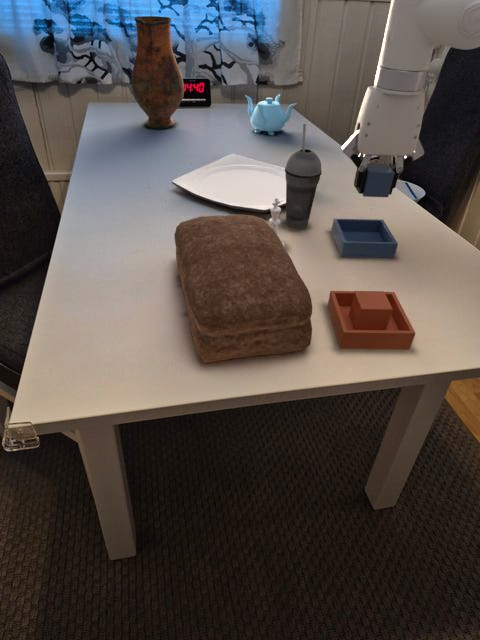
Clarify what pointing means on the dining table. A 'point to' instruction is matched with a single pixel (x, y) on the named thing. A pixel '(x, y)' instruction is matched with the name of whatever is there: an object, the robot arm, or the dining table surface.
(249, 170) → the plate
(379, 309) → the terracotta block
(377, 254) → the slate bin
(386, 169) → the slate block
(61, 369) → the dining table surface
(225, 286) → the bread
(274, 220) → the chess piece
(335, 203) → the dining table surface
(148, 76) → the brown vase
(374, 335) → the terracotta bin
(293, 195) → the beverage cup
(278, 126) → the teapot
